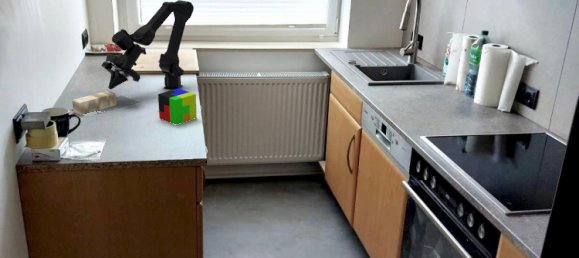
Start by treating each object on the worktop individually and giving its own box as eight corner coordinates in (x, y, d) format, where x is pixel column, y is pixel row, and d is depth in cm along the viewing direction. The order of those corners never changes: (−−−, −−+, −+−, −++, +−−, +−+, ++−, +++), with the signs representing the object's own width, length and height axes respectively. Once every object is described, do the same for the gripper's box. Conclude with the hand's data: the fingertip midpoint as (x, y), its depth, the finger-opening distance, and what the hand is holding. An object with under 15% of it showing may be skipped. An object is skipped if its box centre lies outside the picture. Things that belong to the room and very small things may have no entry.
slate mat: (121, 96, 227) (121, 95, 227) (139, 103, 220) (139, 101, 220) (70, 110, 209) (70, 109, 209) (88, 118, 202) (87, 117, 202)
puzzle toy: (179, 112, 212) (178, 88, 208) (196, 118, 206) (195, 94, 203) (159, 118, 205) (157, 94, 201) (176, 125, 199) (175, 100, 195)
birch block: (108, 90, 216) (72, 100, 205) (115, 93, 214) (79, 103, 202) (109, 102, 218) (73, 112, 206) (116, 105, 215) (81, 115, 204)
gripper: (103, 41, 217) (81, 73, 213) (131, 49, 206) (110, 83, 202) (121, 57, 225) (101, 87, 221) (149, 65, 215) (129, 97, 211)
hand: (109, 88), depth 214 cm, fingers closed
